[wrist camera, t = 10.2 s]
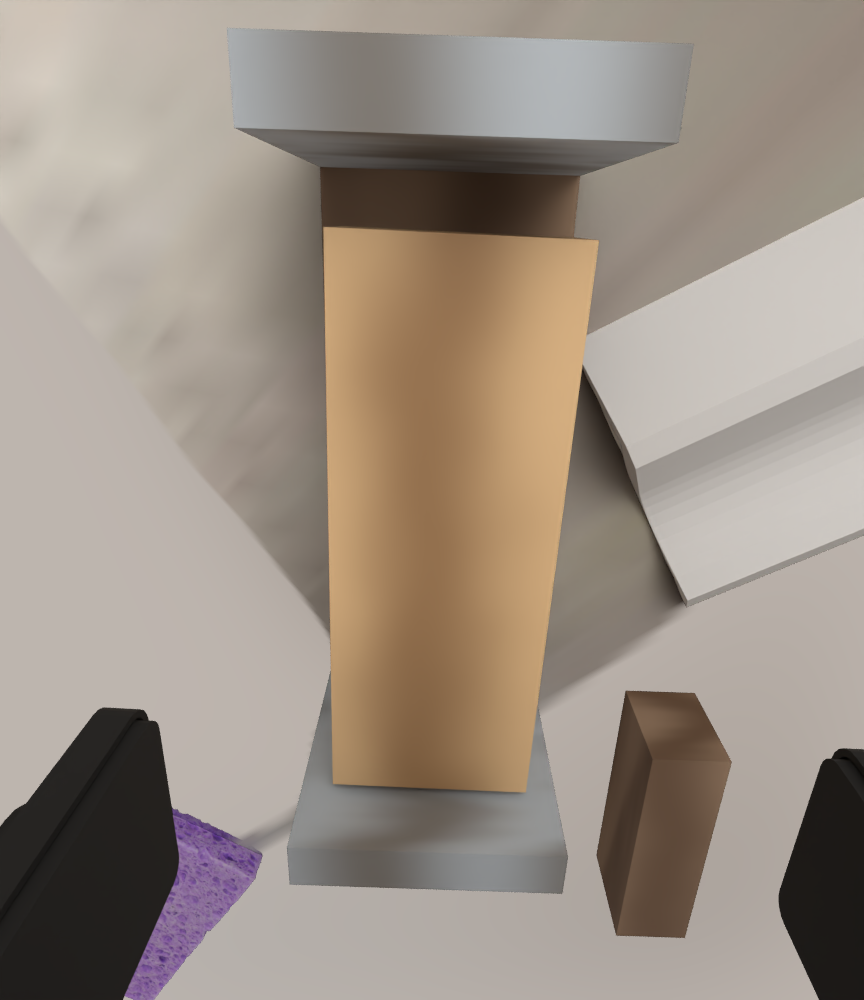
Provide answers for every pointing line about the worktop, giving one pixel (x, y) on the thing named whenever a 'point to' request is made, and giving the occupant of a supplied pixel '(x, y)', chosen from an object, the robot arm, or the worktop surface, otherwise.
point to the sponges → (193, 900)
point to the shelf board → (446, 493)
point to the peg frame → (457, 208)
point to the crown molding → (745, 407)
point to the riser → (660, 812)
